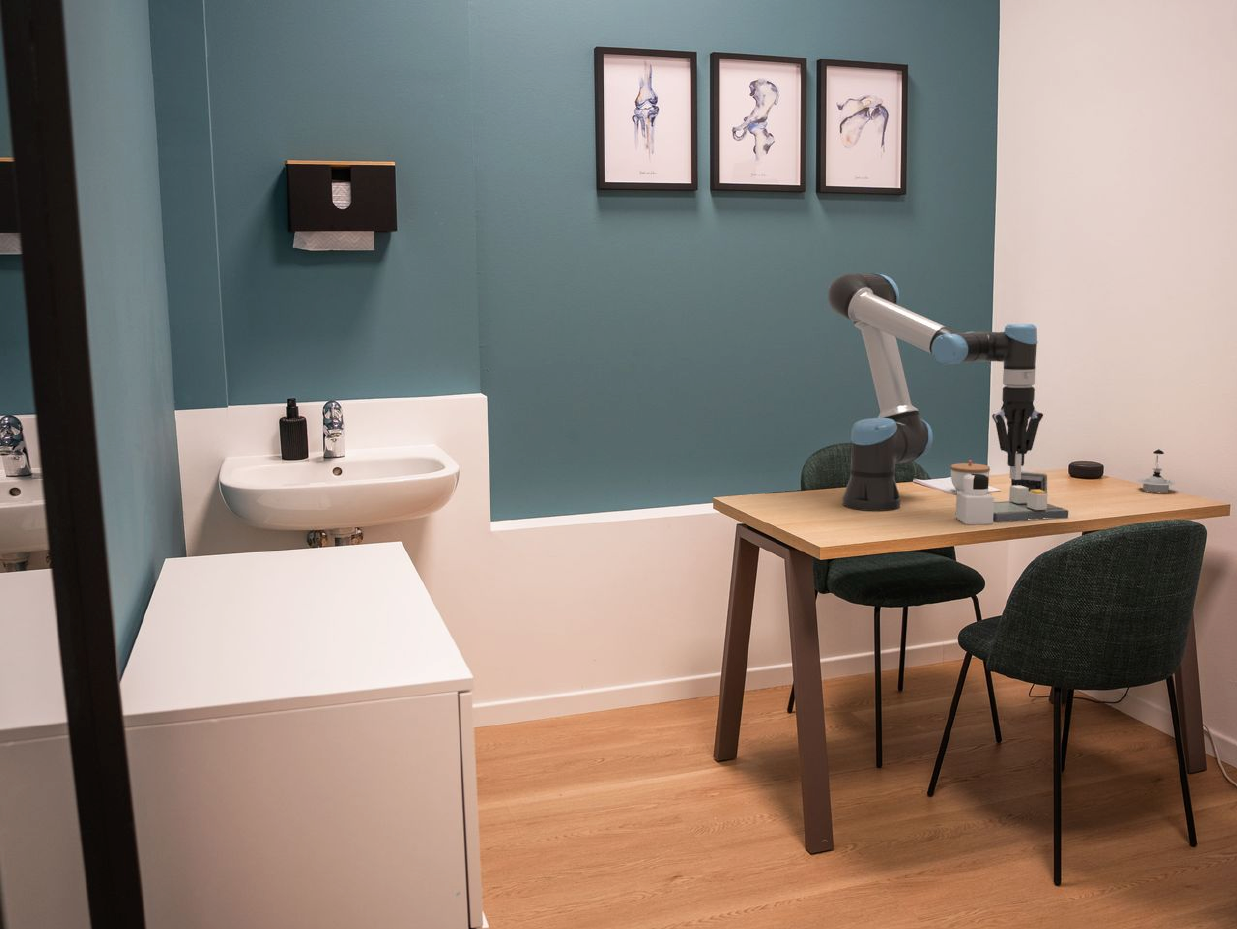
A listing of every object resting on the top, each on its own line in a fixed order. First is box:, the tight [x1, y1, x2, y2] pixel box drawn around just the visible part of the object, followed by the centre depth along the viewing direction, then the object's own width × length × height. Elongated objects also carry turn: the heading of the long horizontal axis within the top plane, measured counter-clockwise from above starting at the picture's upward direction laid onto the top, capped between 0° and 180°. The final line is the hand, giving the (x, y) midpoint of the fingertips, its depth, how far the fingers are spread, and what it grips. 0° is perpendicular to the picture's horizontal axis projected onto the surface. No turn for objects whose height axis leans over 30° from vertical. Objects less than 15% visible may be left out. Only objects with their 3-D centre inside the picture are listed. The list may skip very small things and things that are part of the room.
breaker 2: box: [1027, 489, 1049, 510], centre depth 266 cm, size 3×4×5 cm
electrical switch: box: [1010, 470, 1048, 494], centre depth 282 cm, size 9×5×9 cm, turn 57°
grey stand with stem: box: [1136, 449, 1177, 494], centre depth 299 cm, size 12×10×10 cm
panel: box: [993, 500, 1069, 523], centre depth 270 cm, size 20×14×2 cm
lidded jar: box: [950, 459, 991, 492], centre depth 299 cm, size 11×11×9 cm
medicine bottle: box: [955, 474, 995, 525], centre depth 262 cm, size 7×7×12 cm
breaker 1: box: [1008, 485, 1029, 504], centre depth 274 cm, size 3×4×4 cm
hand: (1015, 478), depth 264 cm, fingers closed
